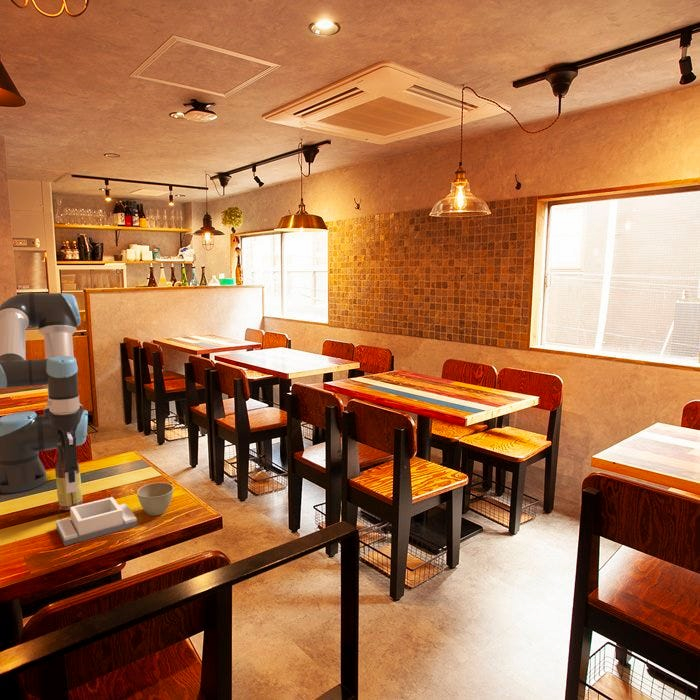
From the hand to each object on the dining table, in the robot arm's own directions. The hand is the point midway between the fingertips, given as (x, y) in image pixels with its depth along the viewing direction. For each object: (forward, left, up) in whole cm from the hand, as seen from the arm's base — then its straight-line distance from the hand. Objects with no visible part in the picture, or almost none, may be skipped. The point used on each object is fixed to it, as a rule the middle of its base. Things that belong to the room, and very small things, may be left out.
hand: (69, 487), depth 149 cm
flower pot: (+14, +20, -8) cm, 26 cm away
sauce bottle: (0, 0, -6) cm, 6 cm away
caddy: (+14, +4, -8) cm, 16 cm away
